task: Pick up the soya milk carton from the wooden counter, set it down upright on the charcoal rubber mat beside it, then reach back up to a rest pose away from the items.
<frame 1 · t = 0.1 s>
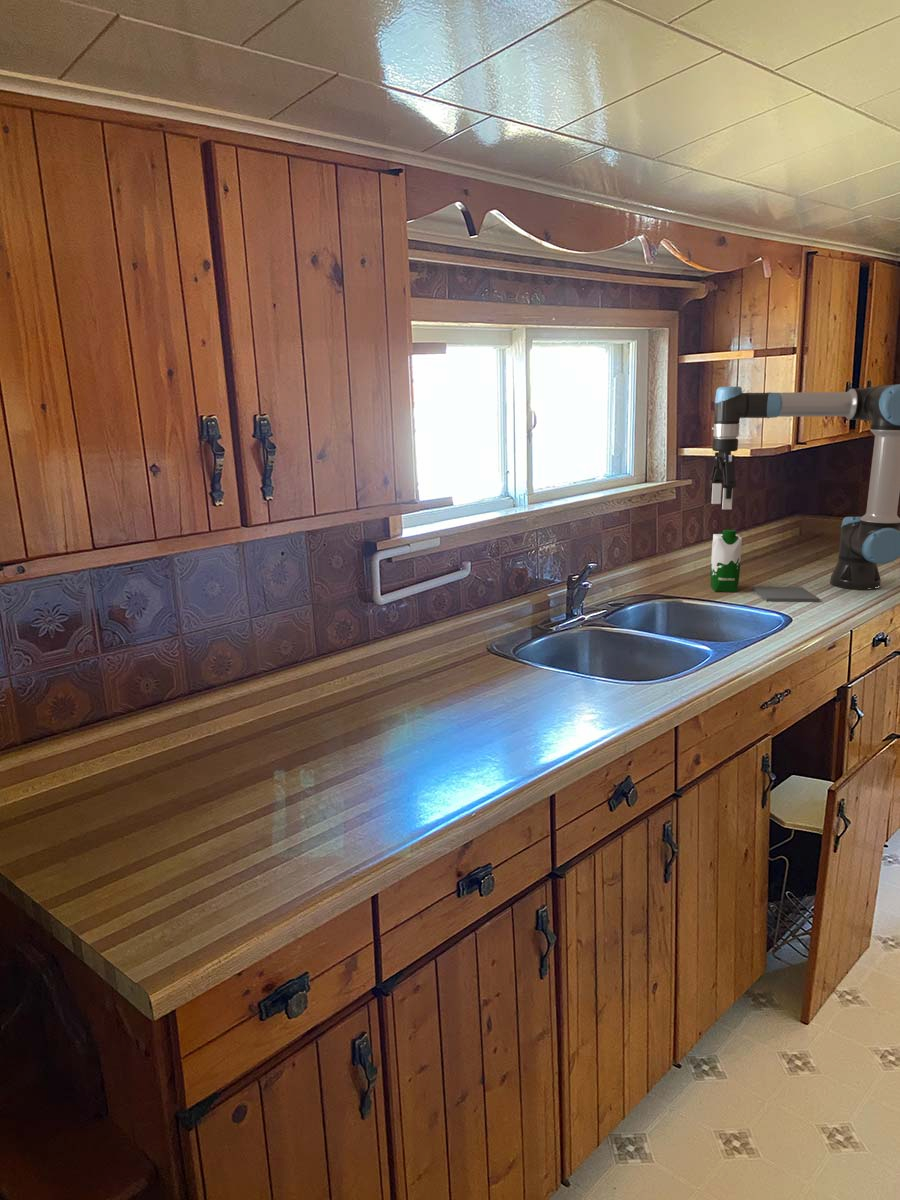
hand: (721, 506, 263), 28 cm above the worktop, tool pointing down, fingers open, 13 cm apart
charcoal mat: (784, 595, 266), on the worktop
soya milk: (723, 590, 275), on the worktop
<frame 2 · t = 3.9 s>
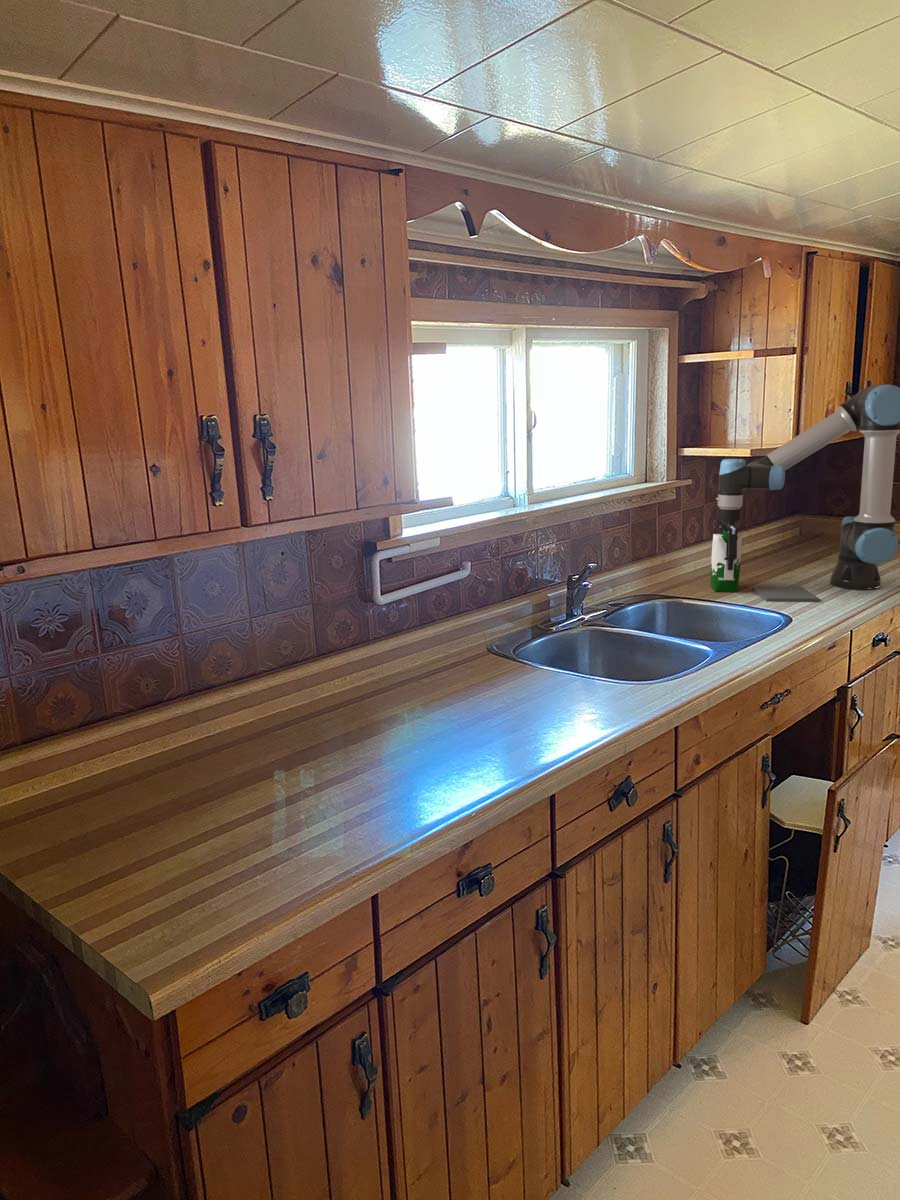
hand: (724, 576, 274), 4 cm above the worktop, tool pointing down, fingers closed on soya milk, 9 cm apart
soya milk: (723, 590, 275), on the worktop, touching gripper
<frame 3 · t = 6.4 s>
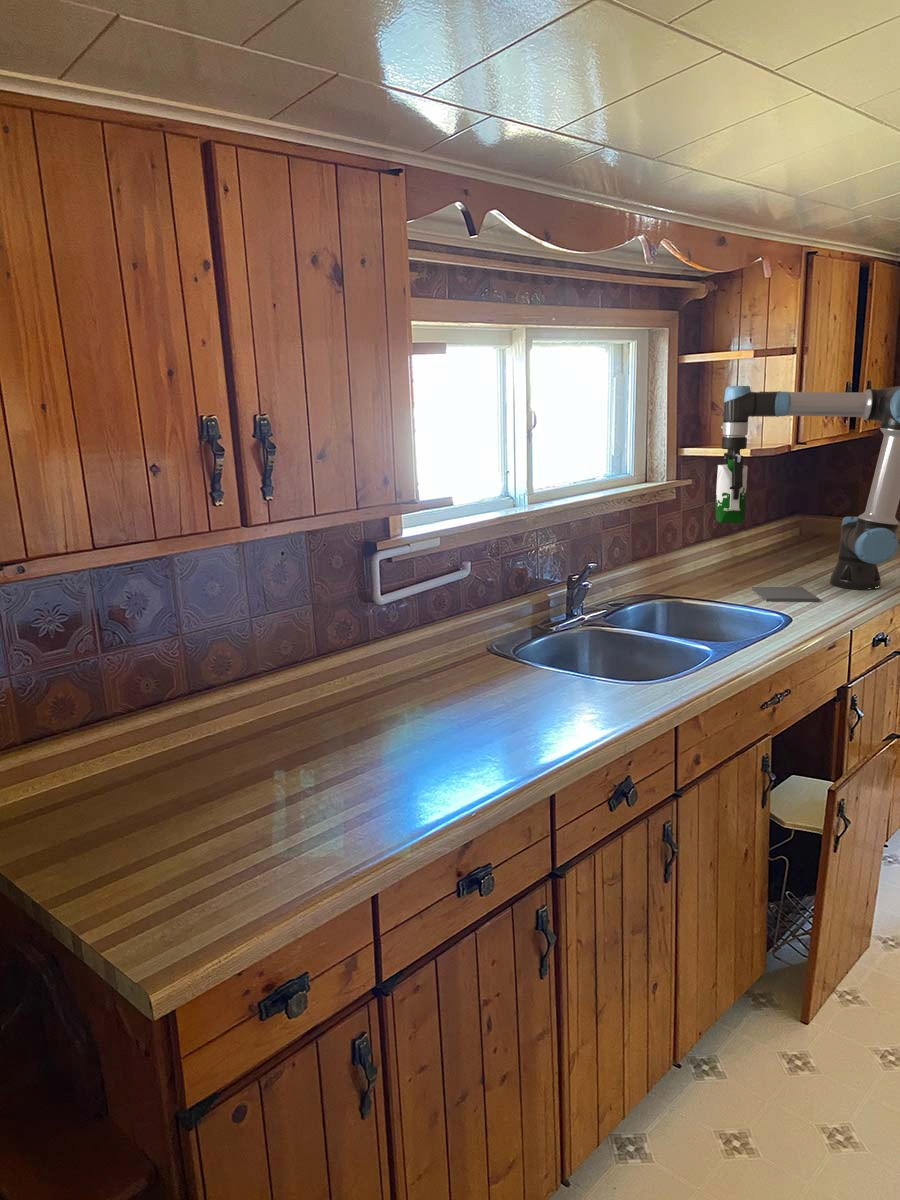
hand: (730, 507, 268), 27 cm above the worktop, tool pointing down, fingers closed on soya milk, 9 cm apart
soya milk: (729, 522, 269), point 22 cm above the worktop, touching gripper
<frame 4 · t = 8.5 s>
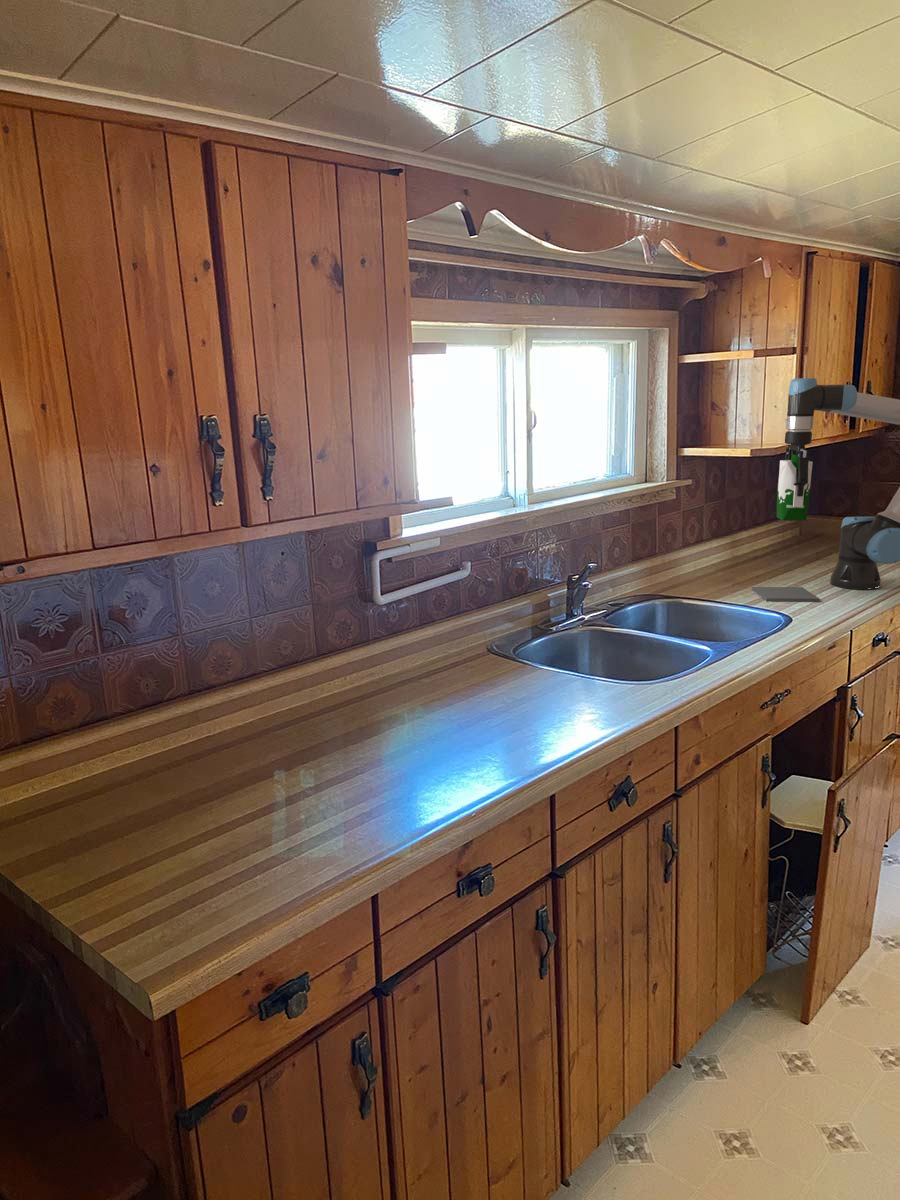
hand: (792, 504, 259), 29 cm above the worktop, tool pointing down, fingers closed on soya milk, 9 cm apart
soya milk: (791, 519, 260), point 24 cm above the worktop, touching gripper
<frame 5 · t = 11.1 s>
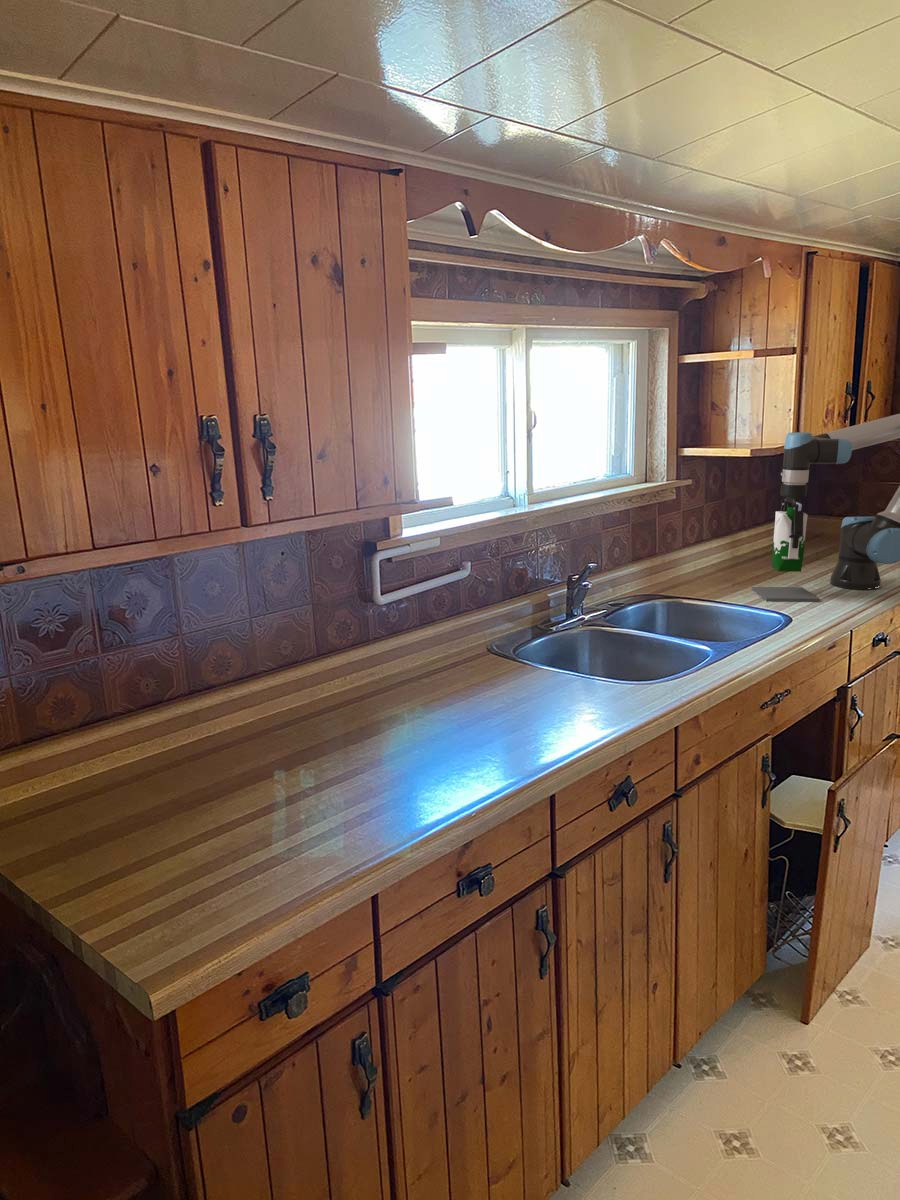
hand: (787, 555, 263), 13 cm above the worktop, tool pointing down, fingers closed on soya milk, 9 cm apart
soya milk: (786, 569, 264), point 8 cm above the worktop, touching gripper
when the fingers open (7 cm above the worktop, at t = 13.4 s): soya milk drops 1 cm, resting on charcoal mat.
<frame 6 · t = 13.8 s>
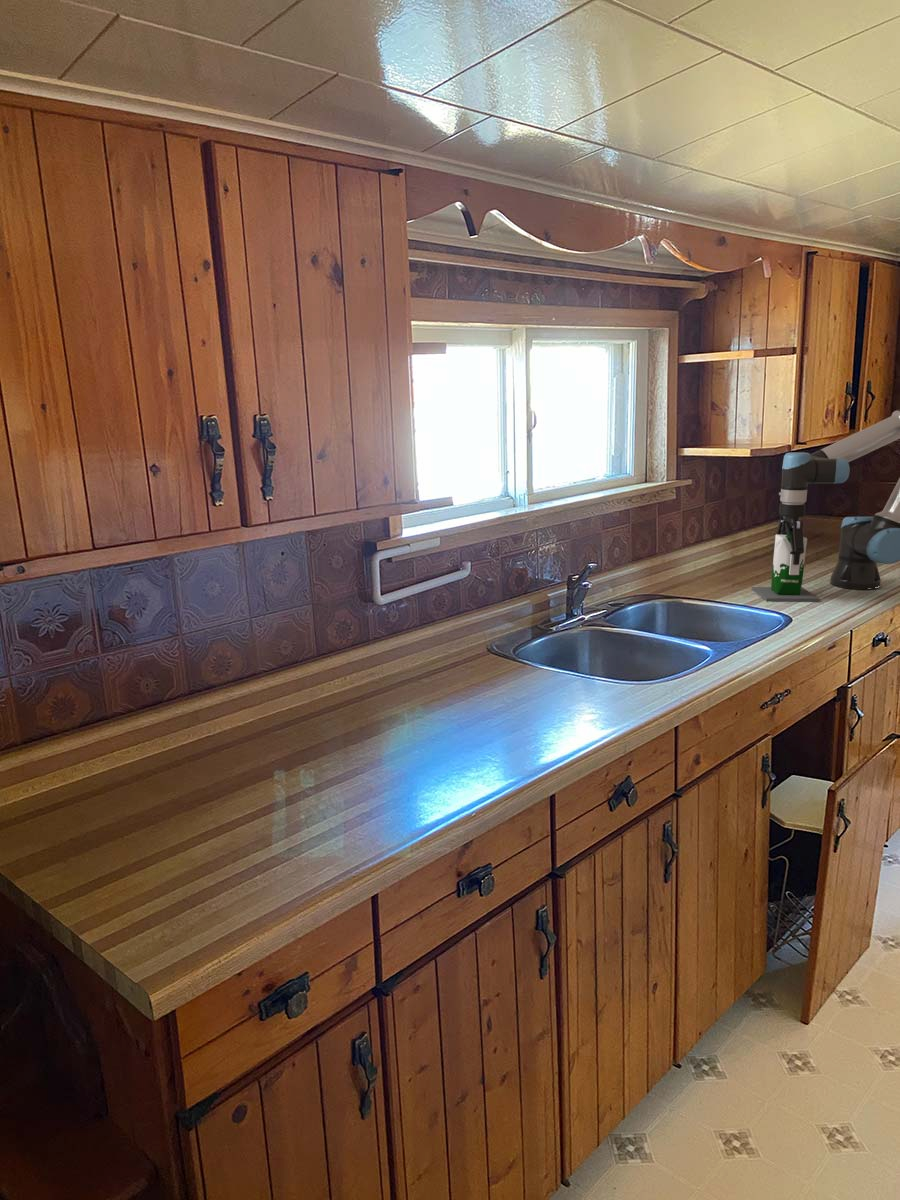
hand: (786, 570, 264), 8 cm above the worktop, tool pointing down, fingers open, 13 cm apart
soya milk: (785, 592, 266), point 1 cm above the worktop, touching charcoal mat
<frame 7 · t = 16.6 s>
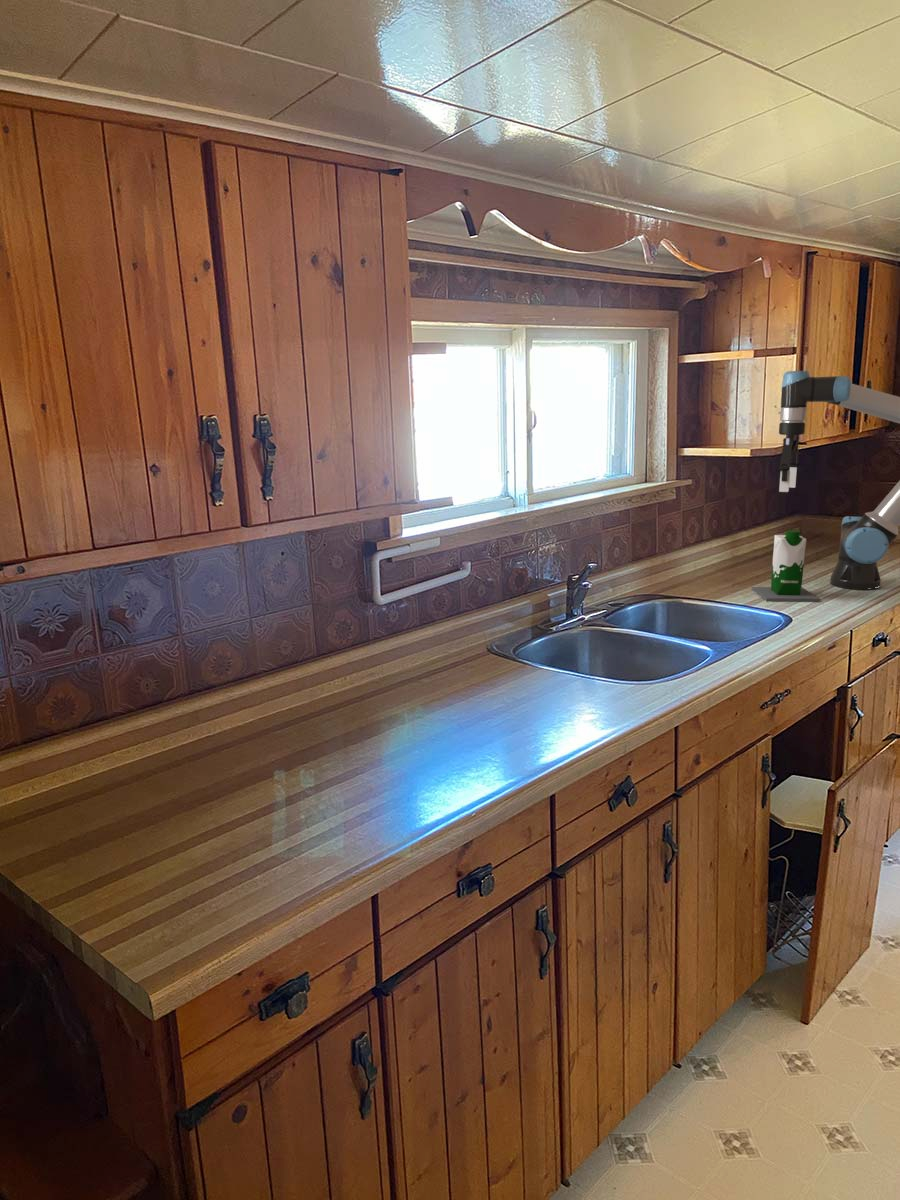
hand: (787, 489, 267), 33 cm above the worktop, tool pointing down, fingers open, 13 cm apart
nothing on the worktop moved.
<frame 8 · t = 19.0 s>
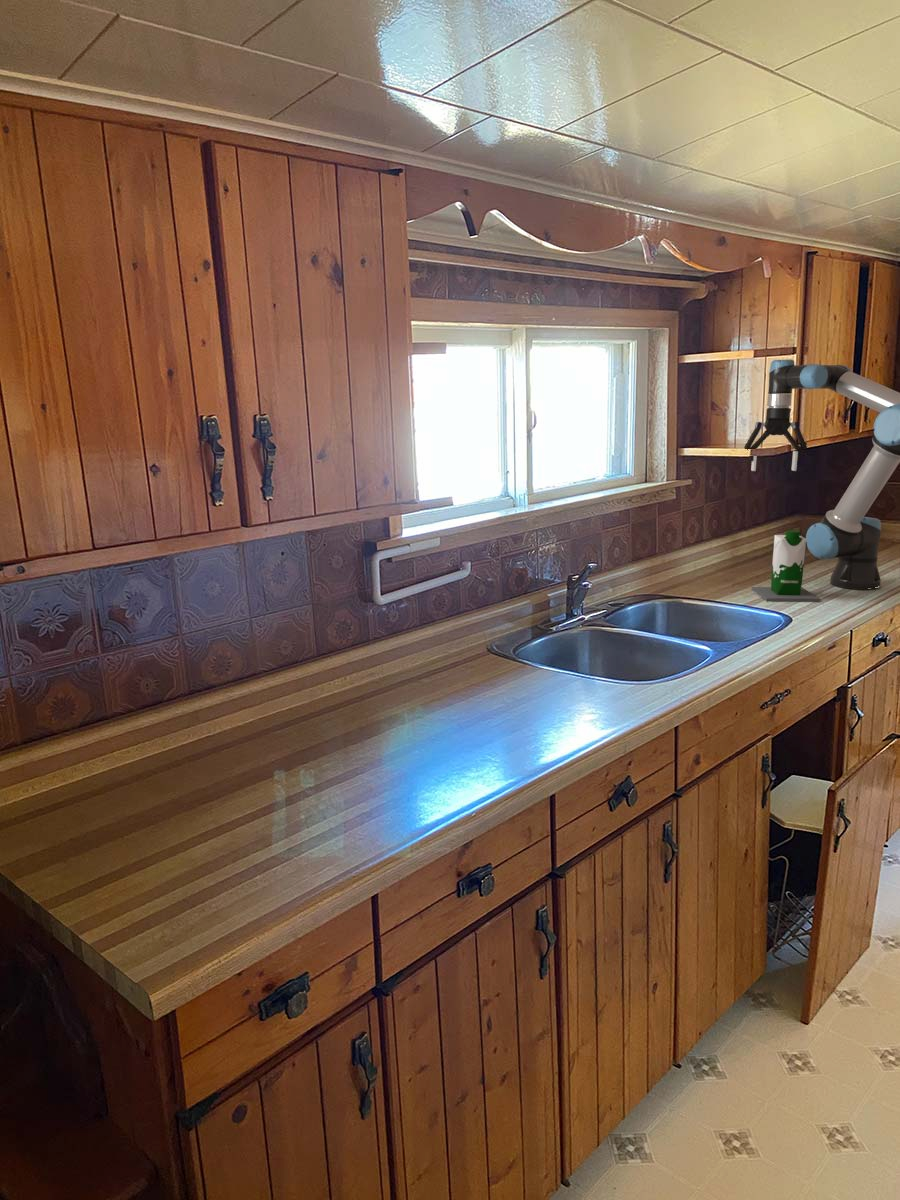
hand: (773, 470, 287), 37 cm above the worktop, tool pointing down, fingers open, 13 cm apart
nothing on the worktop moved.
at the end: soya milk inside the target area on the charcoal mat (0.2 cm from its centre), point 0.8 cm above the charcoal mat's base; soya milk tilted 0°; the gripper is holding nothing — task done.
